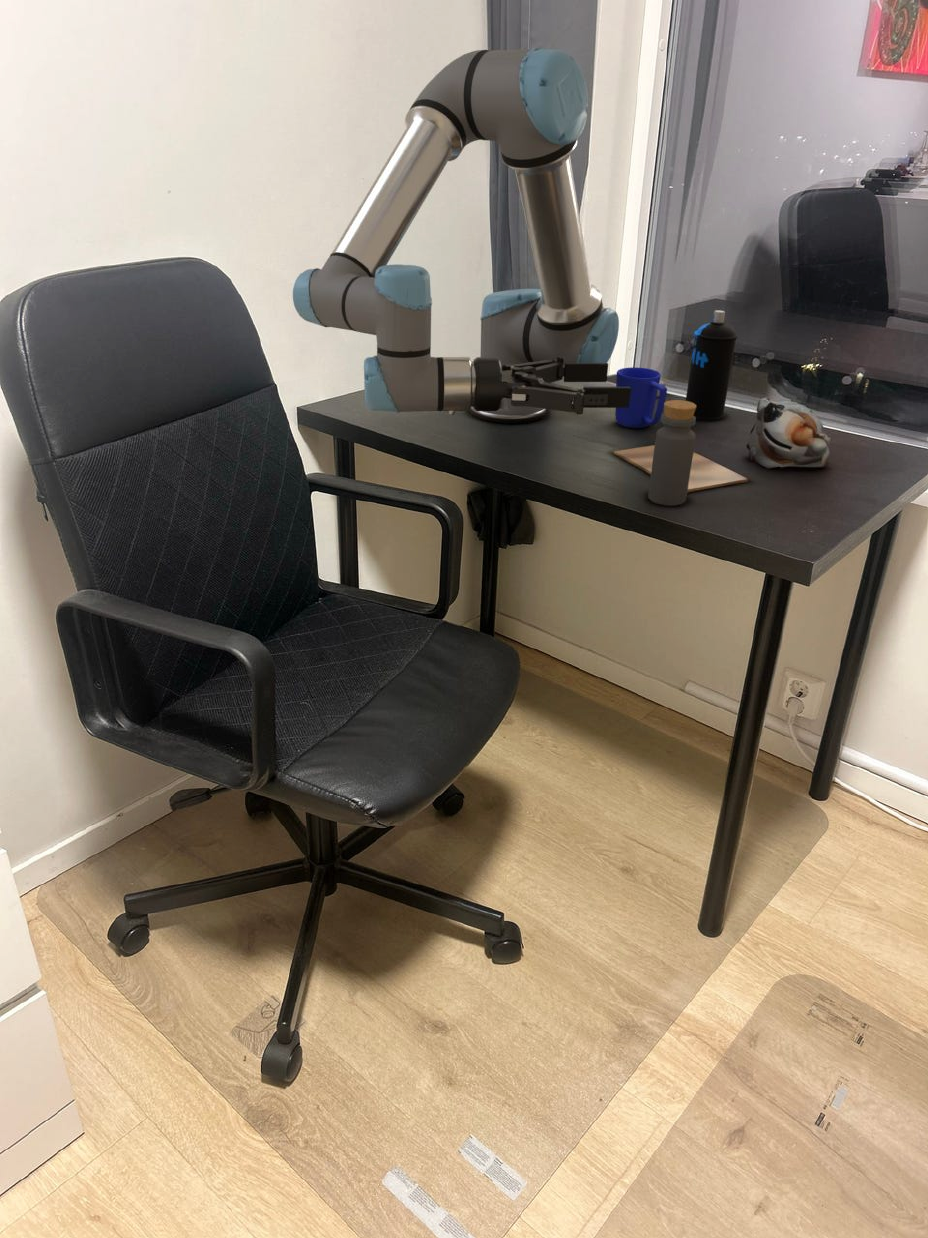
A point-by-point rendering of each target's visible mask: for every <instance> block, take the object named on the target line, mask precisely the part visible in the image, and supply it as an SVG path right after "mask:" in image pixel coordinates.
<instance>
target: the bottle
mask: <svg viewBox="0 0 928 1238" xmlns="http://www.w3.org/2000/svg"><path fill="white" fill-rule="evenodd" d="M695 409H696V405H695V404H694V403H692V402H688V401H686V400H682V399H670V400H665V403H664V408H663V411H664V412H662V415H661V418H660V422H661V423H662V424H663V426H662V427H660V428H659V429H657V431H656V433H655V441H654V445H655V447H654V455H653V462H652V470H651V474H650V479H649V486H648V494H647V495H648V496H647V497H648V499H649V501H651V502H652V503H655V504H657V505H662V506H674V507H675V506H680V505H683V504H685V502H687V495H688V492H687V490H688V484H689V477H690V471H691V465H692V458H693V452H695V445H696V444H695V443H696V433H695V432H694V431H693V430H692V427H693V426H695V425H696V422H697V421H696V420H697V419H696V417H695V416H693V415H694V412H695Z"/></svg>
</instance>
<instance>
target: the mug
mask: <svg viewBox="0 0 928 1238" xmlns="http://www.w3.org/2000/svg"><path fill="white" fill-rule="evenodd" d="M616 374H617V379H616V387H630V388H631V394H630V402H629V408H615V421H616V423H617V424H618V425H619V426H622V427H624V428H628V429H643V428H646V427H648V426H649V425H656V424H657V423H659V421H661V415H662V414H663V413H664V412H663V411H664V403H665V402H666V398H667V393H668V388H667V387H666V386H663V385H661V384H659V382H660V381H661V377H662V374H661V372H659V371H658V370H656V369H652V368H647V367H635V366H632V367H623V368H620V369H618V370H617V371H616ZM658 389H659V390H660V395H659V396H657V392H658ZM657 397H658V400H657ZM656 401H657V407H656V411H655V414H654V410H655V406H656ZM653 414H654V417H653Z"/></svg>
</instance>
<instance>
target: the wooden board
mask: <svg viewBox="0 0 928 1238" xmlns="http://www.w3.org/2000/svg"><path fill="white" fill-rule="evenodd" d="M654 447H655V444H654V445H653V444H652V445H647V446H640V447H634V448H627V449H619V450H614V451H613V454H614V455H615V456H617V457H619V458H621V459H622V460H624V461H626V462H627V463H630V464H631V465H633V466H634V467H636V468H638V469H639V470H642V471H643V472H645V473H647V474H649V475H651V470H652V462H653V455H654ZM748 482H749V478H747V477H745V476H743V475H741V474H739V473H737V472H736V471H734V470H731V469H729V468H727V467H725V466H723V465H722V464H719V463H717V462H715V461H713V460H710V459H709V458H708V457H707V458H706V457H704V456H703V455H701V454H698V453H697V452H695V451H694V452H693V458H692V465H691V471H690V477H689V484H688V490H687V493H691V492H698V491H702V490H709V489H714V488H720V487H725V486H731V485H737V484H742V483H748Z"/></svg>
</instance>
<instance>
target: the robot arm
mask: <svg viewBox="0 0 928 1238" xmlns="http://www.w3.org/2000/svg"><path fill="white" fill-rule="evenodd" d="M588 106H589V95H588V88H587V83H586V79H585V76H584V73H583V70H582V68H581V67H580V64H579V63H578V62H577V60H576V59H575V58H574V57H573V56H572V55H570V54H569V53H567V52H566V51H564V50H561V49H549V48H546V47H534V48H529V49H527V48H525V49H524V48H523V49H495V50H494V49H492V50H489V49H476V50H473V51H469V52H467V53H463V54H462V55H460V56H459V57H456V58H455V59H454V60H452V61H450V62H449V63H448V64H447V65H445V66H444V67H443V68H442V69H441V70H440V71H439V72H438V73H437V74H436V75H434V77H433V78H432V79H431V80H430V81H429V82H428V83H427V84H426V85H425V87H423V89H422V90H421V92H420V93H419V94H418V95H417V97H416V99H415V100H414V101H413V103H412V104H411V105H410V108H409V110H408V111H407V112H406V114H405V118H404V126H405V130H404V131H403V134H402V135H401V136H400V138H399V140H398V142H397V143H396V145H395V146H394V148H393V149H392V151H391V153H390V155H389V157H388V158H387V160H386V162H385V163H384V165H383V166H382V168H381V169H380V171H379V173H378V175H376V178H375V180H374V182H373V183H372V185H371V187H370V188H369V190H368V192H367V193H366V195H365V196H364V198H363V200H362V201H361V203H360V205H359V207H358V208H357V210H356V211H355V212H354V214H353V216H352V217H351V219H350V221H349V223H348V225H347V226H346V228H345V229H344V231H343V233H342V234H341V236H340V238H339V239H338V241H337V243H336V244H335V246H334V248H333V249H332V251H331V253H330V254H329V257H328V258H327V259H326V261H325V262H324V264H323V266H322V267H321V268H318V267H316V268H309V269H305V270H304V271H302V272H301V273H299V275H298V276H297V277H296V279H295V281H294V284H293V289H292V303H293V306H294V308H295V311H296V312H297V314H298V316H299V317H300V318H302V319H303V320H304V321H306V322H308V323H311V324H314V325H318V326H321V327H323V328H335V329H340V330H345V331H352V332H356V333H360V334H361V333H362V334H368V335H372V336H376V355H373V356H368V357H366V358H365V359H364V361H363V381H364V382H363V384H364V403H365V406H366V407H367V408H368V409H369V410H371V411H374V412H394V413H397V414H399V413H414V412H416V413H417V412H448V414H449V415H451V416H454V415H455V414H456V412H469V413H470V414H471V415H473V417H476V418H477V419H480V420H484V421H488V422H493V423H501V424H502V423H503V424H522V423H523V424H524V423H530V422H534V421H538V420H540V419H543V418H544V417H545V416H546V415H547V410H553V411H561V412H568V413H574V414H576V415H583V414H584V409H587V408H588V409H594V408H595V409H600V408H601V409H603V408H604V409H605V408H606V409H608V408H609V409H611V408H613V409H616V408H629V402H630V394H631V388H630V387H583V386H582V388H576V387H572V386H567V385H562V384H556V383H555V382H559V381H562V380H563V382H564V383H586V382H607V375H608V373H609V361H610V360H611V359H610V358H611V357H612V354H613V352H614V350H615V346H616V344H617V340H618V337H619V330H620V329H619V328H620V318H619V315H618V313H617V311H616V310H614V309H613V308H611V307H606V308H605V307H604V305H603V304H604V303H603V297H602V293H601V291H600V290H599V288H598V287H597V286H595V285H593V284H592V283H591V278H590V273H589V272H590V271H589V266H588V260H587V254H586V247H585V242H584V236H583V229H582V223H581V215H580V210H579V205H578V199H577V191H576V185H575V180H574V173H573V168H572V167H573V166H572V162H571V154H572V153H573V151H574V150H575V148H576V147H577V145H578V138H579V137H580V136H581V134H582V132H583V130H584V128H585V125H586V122H587V119H588V113H587V112H586V111H587V110H586V109H587V108H588ZM477 141H489V142H497V143H498V145H499V150H500V154H501V159H502V162H503V164H504V165H505V166H507V167H508V168H510V169H512V170H513V171H515V176H516V181H517V186H518V191H519V193H520V194H519V195H520V200H521V204H522V209H523V214H524V218H525V219H524V220H525V222H526V223H525V224H526V228H527V232H528V237H529V241H530V246H531V251H532V256H533V260H534V265H535V270H536V274H537V275H536V276H537V279H538V283H539V288H518V289H508V290H501V291H494V292H491V293H489V294H487V295H486V296H484V298H483V300H482V306H481V315H480V355H479V356H476V358H474V359H473V360H471V358H470V357H469V356H436V357H435V356H432V355H431V351H432V350H431V349H432V306H433V298H432V295H431V291H432V290H431V275H430V273H429V271H428V270H427V269H426V268H424V267H422V266H420V265H415V264H388V263H389V261H390V260H391V259H392V257H393V255H394V253H395V251H396V250H397V248H398V247H399V245H400V244H401V241H402V240H403V238H404V236H405V235H406V233H407V231H408V229H409V228H410V226H411V225H412V223H413V221H414V219H415V218H416V216H417V214H418V213H419V211H420V209H421V207H422V206H423V204H424V203H425V201H426V199H427V197H428V196H429V194H430V192H431V191H432V189H433V187H434V185H435V184H436V182H437V181H438V179H439V177H440V176H441V174H442V172H443V171H444V169H445V167H446V165H447V164H448V162H453V161H456V160H457V159H458V158H459V157H460V155H461V153H462V151H463V150H464V149H465V147H466V146H468V145H469V144H471V143H473V142H477Z"/></svg>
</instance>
